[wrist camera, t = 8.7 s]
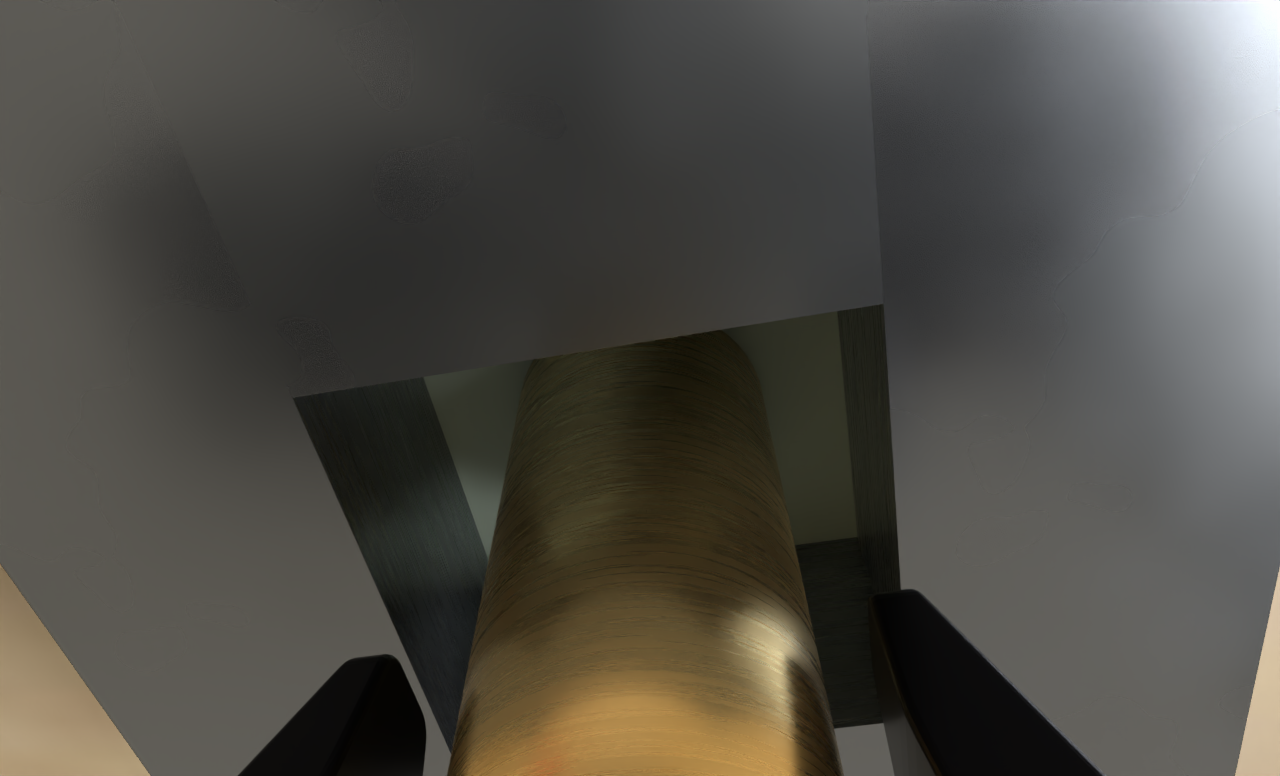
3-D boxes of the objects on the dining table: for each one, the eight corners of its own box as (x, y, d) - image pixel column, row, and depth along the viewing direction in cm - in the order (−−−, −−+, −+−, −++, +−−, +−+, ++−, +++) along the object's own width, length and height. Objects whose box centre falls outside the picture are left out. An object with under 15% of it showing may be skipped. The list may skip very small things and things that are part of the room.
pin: (775, 489, 12) (1096, 2064, 4) (551, 523, 12) (373, 2052, 4) (747, 284, 11) (1190, 2206, 2) (491, 328, 11) (-11, 2169, 2)
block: (1109, 684, 14) (1212, 879, 11) (346, 770, 15) (282, 962, 13) (1208, -290, 8) (1474, -345, 5) (-75, -8, 9) (-359, 56, 7)
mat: (1149, 968, 19) (1158, 989, 18) (428, 1025, 20) (424, 1046, 20) (1367, -325, 8) (1399, -331, 8) (-179, 14, 10) (-211, 20, 9)
